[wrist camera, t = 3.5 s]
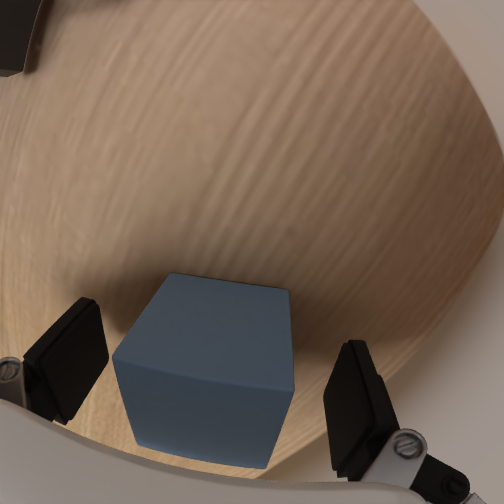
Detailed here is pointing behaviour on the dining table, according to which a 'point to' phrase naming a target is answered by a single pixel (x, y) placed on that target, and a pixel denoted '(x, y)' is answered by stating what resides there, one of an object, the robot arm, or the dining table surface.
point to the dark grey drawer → (15, 33)
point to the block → (209, 370)
